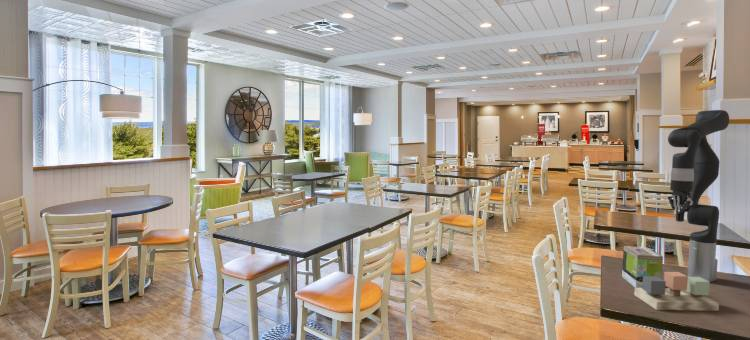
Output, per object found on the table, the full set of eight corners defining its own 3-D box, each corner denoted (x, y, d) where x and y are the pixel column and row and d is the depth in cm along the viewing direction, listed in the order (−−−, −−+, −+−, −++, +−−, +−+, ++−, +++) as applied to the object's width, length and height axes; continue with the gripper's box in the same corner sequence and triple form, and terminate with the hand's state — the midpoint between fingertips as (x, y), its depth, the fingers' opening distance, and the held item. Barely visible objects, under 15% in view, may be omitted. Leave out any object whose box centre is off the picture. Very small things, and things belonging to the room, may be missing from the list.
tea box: (662, 290, 169) (664, 256, 167) (635, 289, 171) (636, 254, 169) (645, 278, 183) (647, 246, 182) (621, 276, 185) (622, 245, 184)
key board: (690, 295, 163) (692, 278, 163) (718, 310, 150) (719, 292, 149) (634, 294, 165) (635, 278, 164) (656, 309, 151) (657, 291, 150)
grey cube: (656, 289, 160) (656, 276, 159) (664, 294, 154) (665, 281, 154) (642, 289, 160) (643, 276, 159) (650, 294, 155) (651, 281, 154)
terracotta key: (677, 284, 159) (678, 271, 158) (687, 289, 154) (687, 276, 153) (663, 284, 159) (664, 271, 159) (672, 289, 154) (673, 276, 154)
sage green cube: (698, 289, 159) (699, 276, 158) (708, 295, 154) (709, 281, 153) (684, 289, 159) (685, 276, 159) (694, 294, 154) (695, 281, 153)
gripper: (703, 181, 159) (701, 224, 160) (680, 177, 172) (678, 218, 173) (683, 181, 159) (681, 224, 161) (661, 177, 172) (659, 217, 174)
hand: (679, 221), depth 167 cm, fingers closed
